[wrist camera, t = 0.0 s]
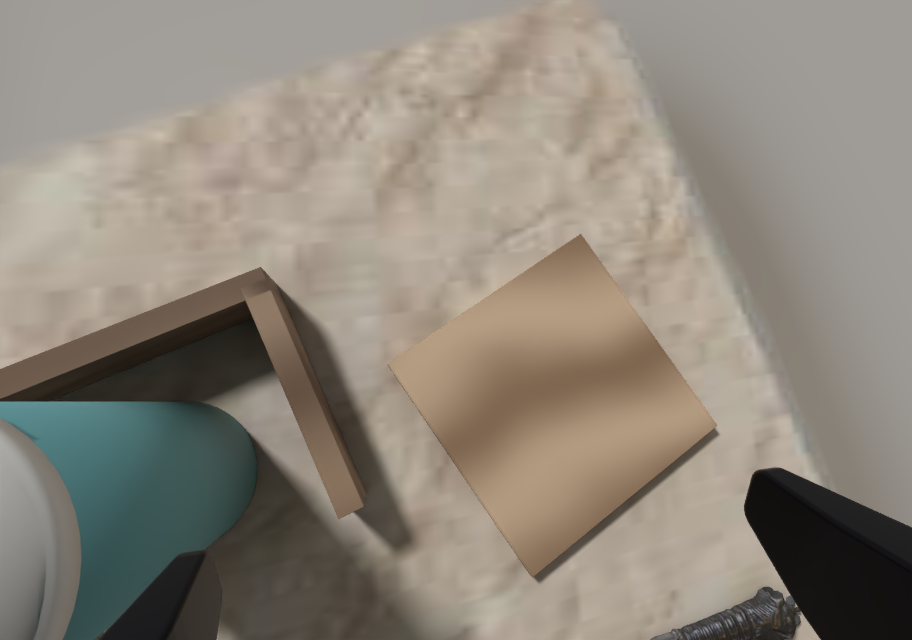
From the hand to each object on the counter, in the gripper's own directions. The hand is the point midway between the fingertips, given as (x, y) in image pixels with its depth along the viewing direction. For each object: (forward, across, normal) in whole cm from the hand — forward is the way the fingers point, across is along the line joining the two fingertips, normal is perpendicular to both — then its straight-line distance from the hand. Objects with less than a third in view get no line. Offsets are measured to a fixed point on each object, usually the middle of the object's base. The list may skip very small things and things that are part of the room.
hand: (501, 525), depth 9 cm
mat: (+13, -6, +7) cm, 16 cm away
